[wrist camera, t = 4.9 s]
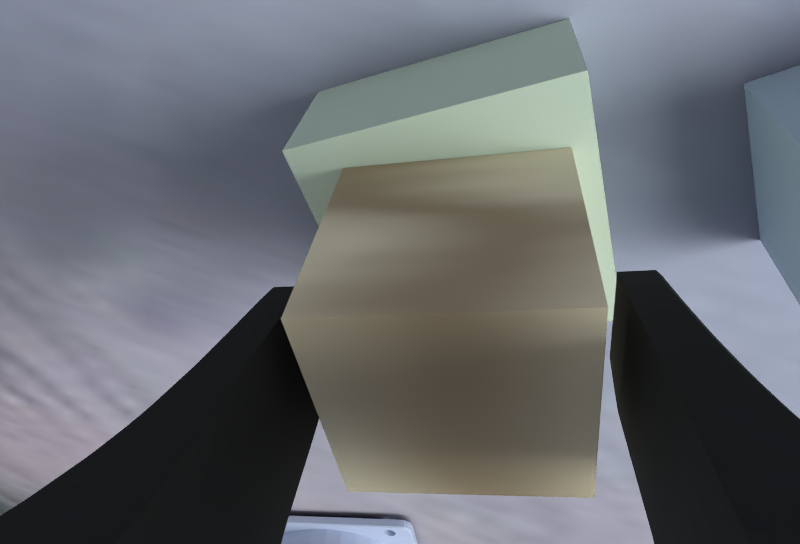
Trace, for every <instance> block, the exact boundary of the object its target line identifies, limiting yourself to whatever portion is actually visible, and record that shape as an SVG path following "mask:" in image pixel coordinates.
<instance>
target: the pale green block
mask: <svg viewBox="0 0 800 544" xmlns="http://www.w3.org/2000/svg"><path fill="white" fill-rule="evenodd" d="M562 148H572V151H573V155H574V160H575V164H576V168H577V173H578V177H579V182H580V186H581V190H582V195H583V199H584V203H585V208H586V212H587V217H588V221H589V225H590V230H591V234H592V238H593V243H594V247H595V252H596V256H597V260H598V265H599V269H600V273H601V278H602V282H603V287H604V291H605V295H606V300H607V304H608V318H607V321H613V314H614V303H615V291H616V273H615V266H614V258H613V251H612V244H611V236H610V229H609V222H608V214H607V207H606V200H605V193H604V185H603V178H602V171H601V163H600V156H599V149H598V141H597V134H596V127H595V119H594V112H593V105H592V97H591V90H590V83H589V75H588V69H587V67H586V64H585V61H584V58H583V56H582V53H581V50H580V47H579V45H578V42H577V39H576V36H575V34H574V31H573V28H572V25H571V23H570V20H569V19H565V20H562V21H558V22H555V23H551V24H548V25H545V26H541V27H538V28H534V29H531V30H527V31H524V32H521V33H517V34H514V35H510V36H507V37H503V38H500V39H497V40H493V41H490V42H486V43H483V44H479V45H476V46H473V47H469V48H466V49H462V50H459V51H455V52H452V53H449V54H445V55H442V56H438V57H435V58H431V59H428V60H425V61H421V62H418V63H414V64H411V65H407V66H404V67H401V68H397V69H394V70H390V71H387V72H383V73H380V74H377V75H373V76H370V77H366V78H363V79H359V80H356V81H353V82H349V83H346V84H342V85H339V86H335V87H332V88H329V89H325V90H322V91H318V93H317V95H316V96H315V98H314V100H313V101H312V103H311V104H310V106H309V108H308V109H307V111H306V113H305V114H304V116H303V117H302V119H301V121H300V122H299V124H298V126H297V127H296V129H295V131H294V132H293V134H292V135H291V137H290V139H289V140H288V142H287V144H286V145H285V147H284V149H283V150H282V152H283V154H284V156H285V158H286V160H287V162H288V164H289V167H290V169H291V171H292V173H293V175H294V177H295V179H296V181H297V183H298V185H299V187H300V189H301V191H302V193H303V195H304V197H305V200H306V202H307V204H308V206H309V208H310V210H311V212H312V214H313V216H314V218H315V220H316V222H317V224H318V226H319V225H320V223H321V220H322V218H323V215H324V213H325V210H326V208H327V206H328V203H329V201H330V198H331V196H332V193H333V191H334V189H335V186H336V184H337V181H338V179H339V176H340V174H341V172H342V169H343V168H348V167H359V166H371V165H382V164H393V163H404V162H416V161H427V160H438V159H449V158H461V157H472V156H483V155H494V154H506V153H517V152H528V151H540V150H551V149H562Z"/></svg>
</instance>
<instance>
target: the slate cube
mask: <svg viewBox="0 0 800 544" xmlns="http://www.w3.org/2000/svg"><path fill="white" fill-rule="evenodd" d="M744 92H745V101H746V111H747V120H748V130H749V139H750V149H751V158H752V168H753V177H754V187H755V196H756V206H757V215H758V225H759V234H760V241H761V242H762V244H763V245H764V247H765V249H766V250H767V252H768V254H769V255H770V257H771V259H772V260H773V262H774V263H775V265H776V267H777V268H778V270H779V272H780V273H781V275H782V276H783V278H784V280H785V281H786V283H787V285H788V286H789V288H790V289H791V291H792V293H793V294H794V296H795V298H796V299H797V301H798V303H799V304H800V65H798V66H795V67H792V68H789V69H786V70H783V71H780V72H777V73H774V74H771V75H768V76H765V77H762V78H759V79H756V80H753V81H749V82H746V83H744Z"/></svg>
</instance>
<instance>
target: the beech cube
mask: <svg viewBox="0 0 800 544" xmlns="http://www.w3.org/2000/svg"><path fill="white" fill-rule="evenodd" d="M607 318H608V304H607V300H606V295H605V291H604V287H603V282H602V278H601V273H600V269H599V265H598V260H597V256H596V252H595V247H594V243H593V238H592V234H591V230H590V225H589V221H588V217H587V212H586V208H585V203H584V199H583V195H582V190H581V186H580V182H579V177H578V173H577V168H576V164H575V160H574V155H573V151H572V148H562V149H551V150H540V151H528V152H517V153H506V154H494V155H483V156H472V157H461V158H449V159H438V160H427V161H416V162H404V163H393V164H382V165H371V166H359V167H348V168H343V169H342V172H341V174H340V176H339V179H338V181H337V184H336V186H335V189H334V191H333V193H332V196H331V198H330V201H329V203H328V206H327V208H326V210H325V213H324V215H323V218H322V220H321V223H320V225H319V227H318V230H317V232H316V235H315V237H314V240H313V242H312V244H311V247H310V249H309V252H308V254H307V257H306V259H305V261H304V264H303V266H302V269H301V271H300V274H299V276H298V278H297V281H296V283H295V286H294V288H293V291H292V293H291V295H290V298H289V300H288V303H287V305H286V308H285V310H284V312H283V315H282V317H281V321H282V324H283V326H284V329H285V331H286V334H287V337H288V339H289V342H290V344H291V347H292V349H293V352H294V354H295V357H296V360H297V362H298V365H299V367H300V370H301V372H302V375H303V378H304V380H305V383H306V385H307V388H308V390H309V393H310V395H311V398H312V401H313V403H314V406H315V408H316V411H317V413H318V416H319V419H320V421H321V424H322V426H323V429H324V431H325V434H326V436H327V439H328V442H329V444H330V447H331V449H332V452H333V454H334V457H335V460H336V462H337V465H338V467H339V470H340V472H341V475H342V478H343V480H344V483H345V485H346V488H347V490H348V492H387V493H426V494H465V495H504V496H543V497H582V498H594V493H595V479H596V466H597V452H598V439H599V425H600V412H601V399H602V385H603V372H604V358H605V345H606V331H607Z"/></svg>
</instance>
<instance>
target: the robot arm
mask: <svg viewBox="0 0 800 544" xmlns="http://www.w3.org/2000/svg"><path fill="white" fill-rule="evenodd" d="M293 288H294V286H293V287H273V288H272V289H271V290H270V291H269V292H268V293H267V294H266V295H265V296H264V297H263V298H262V299H261V300H260V301H259V302H258V303H257V304H256V305H255V306H254V307H253V308H252V309H251V310H250V311H249V312H248V313H247V314H246V315H245V316H244V317H243V318H242V319H241V320H240V321H239V322H238V323H237V324H236V325H235V326H234V327H233V328H232V329H231V330H230V331H229V332H228V333H227V334H226V335H225V336H224V337H223V338H222V339H221V340H220V341H219V342H218V343H217V344H216V345H215V346H214V347H213V348H212V349H211V350H210V351H209V352H208V353H207V354H206V355H205V356H204V357H203V358H202V359H201V360H200V361H199V362H198V363H197V364H196V365H195V366H194V367H193V368H192V369H191V370H190V371H189V372H188V373H186V374H185V375H184V376H183V377H182V378H181V379H180V380H179V381H178V382H177V383H176V384H174V385H173V386H172V387H171V388H170V389H169V390H168V391H167V392H166V393H165V394H164V395H162V396H161V397H160V398H159V399H158V400H157V401H156V402H155V403H154V404H153V405H152V406H150V407H149V408H148V409H147V410H146V411H145V412H143V413H142V414H141V415H140V416H139V417H137V418H136V419H135V420H134V421H133V422H131V423H130V424H129V425H128V426H127V427H125V428H124V429H123V430H122V431H120V432H119V433H118V434H116V435H115V436H114V437H113V438H111V439H110V440H109V441H107V442H106V443H105V444H104V445H102V446H101V447H100V448H99V449H97V450H96V451H95V452H93V453H92V454H91V455H89V456H88V457H87V458H85V459H84V460H82V461H81V462H79V463H78V464H77V465H75V466H74V467H72V468H71V469H69V470H68V471H67V472H65V473H64V474H62V475H61V476H59V477H58V478H56V479H55V480H54V481H52V482H51V483H49V484H48V485H46V486H45V487H44V488H42V489H41V490H39V491H38V492H36V493H35V494H34V495H32V496H31V497H29V498H28V499H26V500H25V501H23V502H22V503H20V504H18V505H17V506H15V507H14V508H12V509H10V510H9V511H7V512H6V513H4V514H3V515H1V516H0V544H417V540H416V537H415V533H414V529H413V526H412V525H411V523H409V522H408V521H405V520H397V519H370V518H342V517H315V516H289V514H290V511H291V507H292V504H293V501H294V498H295V495H296V491H297V488H298V485H299V482H300V479H301V475H302V472H303V469H304V466H305V463H306V459H307V456H308V453H309V450H310V447H311V443H312V440H313V437H314V433H315V430H316V427H317V423H318V420H319V416H318V413H317V411H316V408H315V406H314V403H313V401H312V398H311V395H310V393H309V390H308V388H307V385H306V383H305V380H304V378H303V375H302V372H301V370H300V367H299V365H298V362H297V360H296V357H295V354H294V352H293V349H292V347H291V344H290V342H289V339H288V337H287V334H286V331H285V329H284V326H283V324H282V321H281V317H282V315H283V312H284V310H285V308H286V305H287V303H288V300H289V298H290V295H291V293H292V291H293ZM610 362H611V369H612V376H613V383H614V389H615V396H616V402H617V408H618V413H619V417H620V420H621V424H622V428H623V431H624V435H625V439H626V442H627V446H628V450H629V453H630V457H631V460H632V464H633V467H634V471H635V475H636V478H637V482H638V485H639V489H640V493H641V496H642V500H643V503H644V507H645V510H646V514H647V518H648V521H649V525H650V528H651V532H652V536H653V540H654V544H800V419H799V418H798V417H797V416H796V415H795V414H793V413H792V412H791V411H790V410H789V409H788V408H787V407H786V406H785V405H784V404H783V403H781V402H780V401H779V400H778V399H777V398H776V397H775V396H774V395H773V394H772V393H771V392H770V391H769V390H767V389H766V388H765V387H764V386H763V385H762V384H761V383H760V382H759V381H758V380H757V379H756V378H755V377H754V376H753V375H752V374H751V373H750V372H749V371H748V370H747V369H746V368H745V367H744V366H743V365H742V364H741V363H740V362H739V361H738V360H737V359H736V358H735V357H734V356H733V355H732V354H731V353H730V352H729V351H728V350H727V349H726V348H725V347H724V346H723V345H722V343H721V342H720V341H719V340H718V339H717V338H716V337H715V336H714V335H713V334H712V333H711V332H710V331H709V330H708V328H707V327H706V326H705V325H704V324H703V323H702V322H701V321H700V320H699V318H698V317H697V316H696V315H695V314H694V313H693V312H692V311H691V309H690V308H689V307H688V306H687V305H686V304H685V302H684V301H683V300H682V299H681V298H680V297H679V295H678V294H677V293H676V292H675V291H674V289H673V288H672V287H671V286H670V285H669V283H668V282H667V281H666V280H665V279H664V277H663V276H662V275H661V274H660V273H659V272H657V271H656V270H649V271H627V272H617V279H616V291H615V303H614V314H613V326H612V338H611V349H610Z"/></svg>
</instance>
